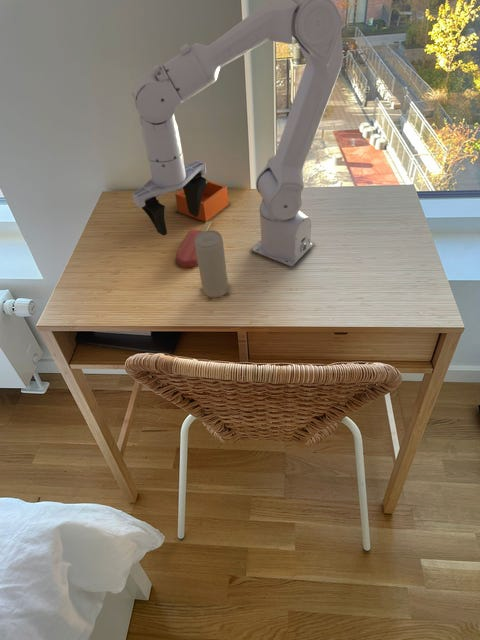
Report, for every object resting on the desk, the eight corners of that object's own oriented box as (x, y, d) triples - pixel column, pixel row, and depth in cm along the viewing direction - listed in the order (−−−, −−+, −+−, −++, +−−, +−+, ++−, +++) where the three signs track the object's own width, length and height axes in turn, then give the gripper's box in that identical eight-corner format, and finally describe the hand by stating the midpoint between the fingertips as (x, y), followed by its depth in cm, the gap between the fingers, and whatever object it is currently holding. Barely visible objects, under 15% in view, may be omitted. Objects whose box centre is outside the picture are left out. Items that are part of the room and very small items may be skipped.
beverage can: (232, 294, 90) (226, 241, 81) (207, 302, 89) (199, 249, 80) (223, 279, 93) (216, 226, 85) (199, 286, 92) (190, 234, 84)
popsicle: (220, 219, 104) (196, 263, 95) (221, 226, 106) (197, 269, 96) (197, 217, 106) (171, 260, 96) (198, 223, 107) (172, 266, 97)
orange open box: (228, 204, 111) (226, 186, 108) (206, 222, 107) (203, 204, 104) (201, 194, 115) (198, 177, 112) (178, 211, 111) (174, 193, 108)
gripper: (183, 131, 85) (194, 199, 95) (114, 163, 79) (133, 233, 88) (209, 142, 81) (218, 212, 91) (139, 177, 75) (157, 248, 84)
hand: (178, 223), depth 89 cm, fingers open, 7 cm apart
